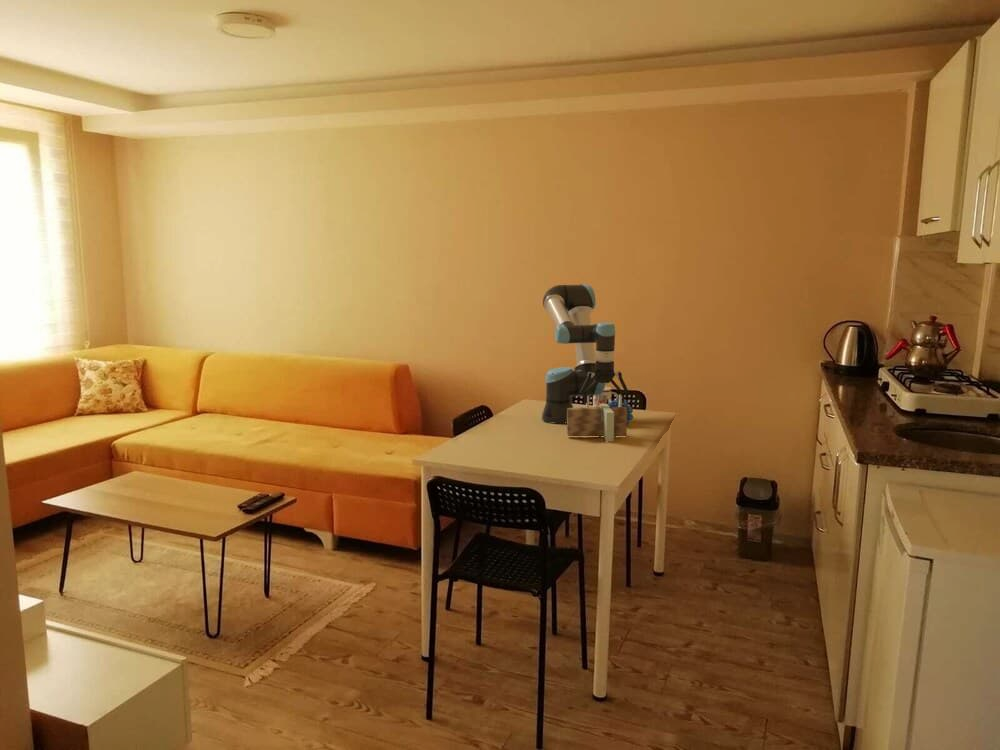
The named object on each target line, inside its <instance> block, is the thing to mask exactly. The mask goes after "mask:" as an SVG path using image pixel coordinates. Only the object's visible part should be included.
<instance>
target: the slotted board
mask: <svg viewBox="0 0 1000 750" xmlns="http://www.w3.org/2000/svg"><path fill="white" fill-rule="evenodd" d="M612 411H613V412H614V436H615V437H616V436H626V437H627V431H628V429H627V428H628V427H627V426H628V425H627V408H626V407H612ZM567 436H599V437H601V436H604V424H603V422H602V409H601V407H589V408H586V407H573V408H567V423H566V437H567Z"/></svg>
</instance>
